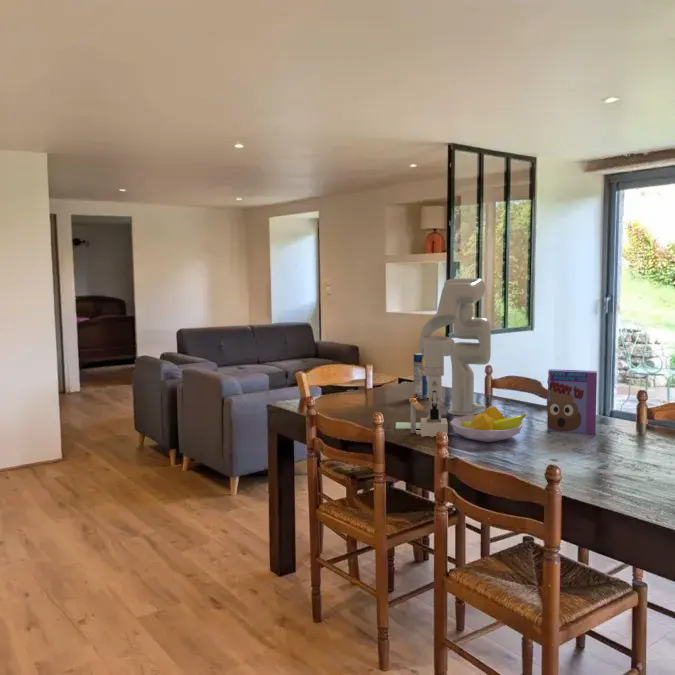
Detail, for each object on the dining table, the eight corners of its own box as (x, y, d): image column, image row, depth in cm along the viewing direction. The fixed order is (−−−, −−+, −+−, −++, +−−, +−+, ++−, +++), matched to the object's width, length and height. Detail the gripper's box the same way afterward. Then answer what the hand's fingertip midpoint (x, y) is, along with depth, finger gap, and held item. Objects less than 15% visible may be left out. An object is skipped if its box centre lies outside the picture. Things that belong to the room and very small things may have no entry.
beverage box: (413, 397, 327) (413, 354, 325) (430, 395, 333) (430, 352, 331) (422, 399, 321) (422, 355, 319) (439, 397, 327) (439, 353, 325)
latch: (424, 409, 240) (424, 405, 239) (416, 409, 239) (416, 405, 239) (416, 401, 254) (416, 397, 254) (408, 402, 254) (408, 398, 253)
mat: (420, 423, 269) (420, 422, 269) (420, 429, 259) (420, 428, 259) (396, 423, 270) (396, 422, 270) (395, 429, 260) (395, 427, 260)
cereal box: (547, 431, 254) (548, 370, 251) (548, 428, 258) (549, 368, 256) (595, 434, 247) (596, 372, 245) (595, 431, 252) (596, 370, 249)
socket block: (446, 430, 257) (446, 400, 256) (447, 436, 247) (447, 405, 246) (410, 430, 258) (410, 399, 257) (410, 436, 249) (410, 404, 247)
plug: (440, 430, 255) (440, 403, 254) (441, 433, 250) (441, 405, 249) (427, 430, 256) (427, 403, 254) (427, 433, 251) (427, 405, 250)
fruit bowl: (436, 435, 250) (436, 406, 248) (488, 426, 263) (489, 398, 262) (487, 451, 226) (487, 419, 224) (542, 441, 239) (543, 410, 238)
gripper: (445, 374, 242) (445, 423, 243) (442, 368, 258) (442, 413, 260) (424, 374, 242) (424, 422, 244) (423, 368, 259) (424, 412, 261)
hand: (434, 417), depth 252 cm, fingers closed on plug, 5 cm apart
